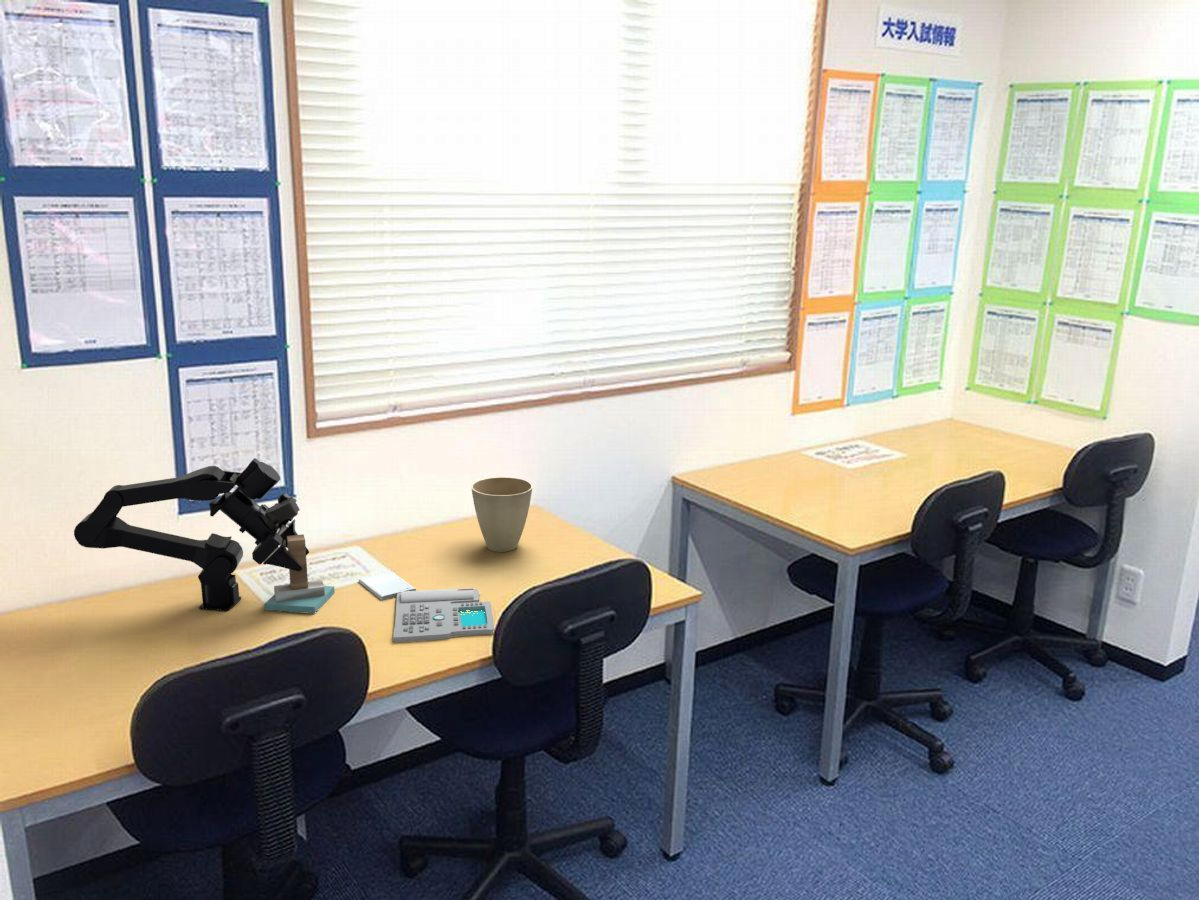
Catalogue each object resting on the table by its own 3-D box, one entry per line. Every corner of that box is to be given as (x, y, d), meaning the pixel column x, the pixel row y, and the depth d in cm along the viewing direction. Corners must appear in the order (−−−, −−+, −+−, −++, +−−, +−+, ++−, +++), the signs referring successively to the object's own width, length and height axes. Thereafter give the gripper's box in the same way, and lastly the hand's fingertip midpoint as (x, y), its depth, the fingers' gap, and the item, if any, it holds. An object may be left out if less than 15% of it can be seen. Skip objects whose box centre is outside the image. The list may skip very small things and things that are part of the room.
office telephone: (396, 586, 217) (488, 581, 220) (396, 597, 218) (488, 592, 221) (392, 631, 195) (495, 625, 198) (393, 643, 195) (495, 637, 199)
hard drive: (416, 588, 219) (391, 570, 229) (381, 596, 214) (358, 577, 224) (416, 595, 220) (392, 577, 229) (382, 603, 215) (358, 584, 225)
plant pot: (459, 549, 245) (458, 487, 241) (498, 532, 257) (497, 473, 253) (507, 562, 237) (506, 498, 233) (544, 544, 249) (544, 483, 245)
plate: (264, 610, 209) (264, 603, 208) (286, 589, 219) (285, 583, 219) (315, 613, 208) (314, 607, 207) (334, 592, 218) (334, 586, 218)
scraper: (324, 595, 213) (321, 538, 210) (275, 601, 209) (271, 543, 206) (322, 588, 217) (319, 532, 213) (274, 594, 213) (270, 537, 210)
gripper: (265, 500, 197) (325, 551, 202) (281, 474, 215) (336, 521, 219) (226, 539, 198) (287, 588, 203) (246, 509, 216) (301, 555, 220)
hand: (304, 561), depth 211 cm, fingers open, 9 cm apart
